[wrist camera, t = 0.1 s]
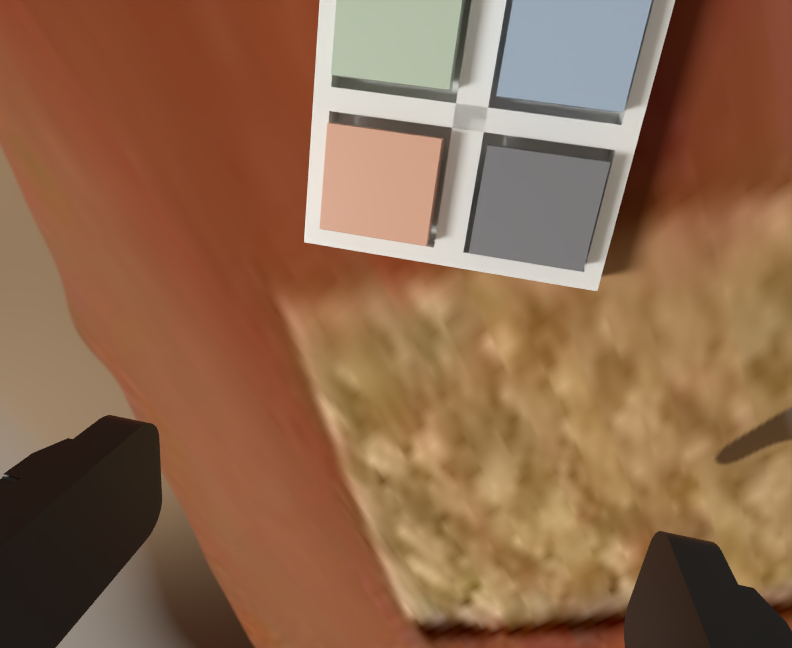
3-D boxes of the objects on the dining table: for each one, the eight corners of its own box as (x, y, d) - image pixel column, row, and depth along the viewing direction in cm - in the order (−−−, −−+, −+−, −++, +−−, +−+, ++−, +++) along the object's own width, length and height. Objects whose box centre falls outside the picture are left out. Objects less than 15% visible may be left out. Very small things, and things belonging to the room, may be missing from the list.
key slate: (518, -28, 29) (519, -37, 27) (648, -15, 28) (657, -23, 26) (496, 96, 31) (496, 95, 29) (616, 112, 30) (623, 112, 29)
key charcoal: (488, 143, 32) (487, 145, 30) (604, 160, 31) (610, 162, 30) (470, 246, 34) (468, 253, 33) (578, 263, 33) (582, 271, 32)
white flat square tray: (339, -64, 32) (324, -80, 29) (671, -32, 30) (687, -46, 27) (317, 233, 38) (304, 242, 36) (590, 278, 36) (597, 291, 33)
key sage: (349, -46, 30) (340, -55, 28) (470, -33, 29) (468, -42, 28) (339, 76, 32) (330, 74, 31) (451, 91, 31) (449, 89, 30)
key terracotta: (336, 122, 33) (327, 123, 31) (445, 137, 32) (441, 138, 31) (328, 223, 35) (319, 228, 34) (430, 239, 35) (426, 246, 33)
